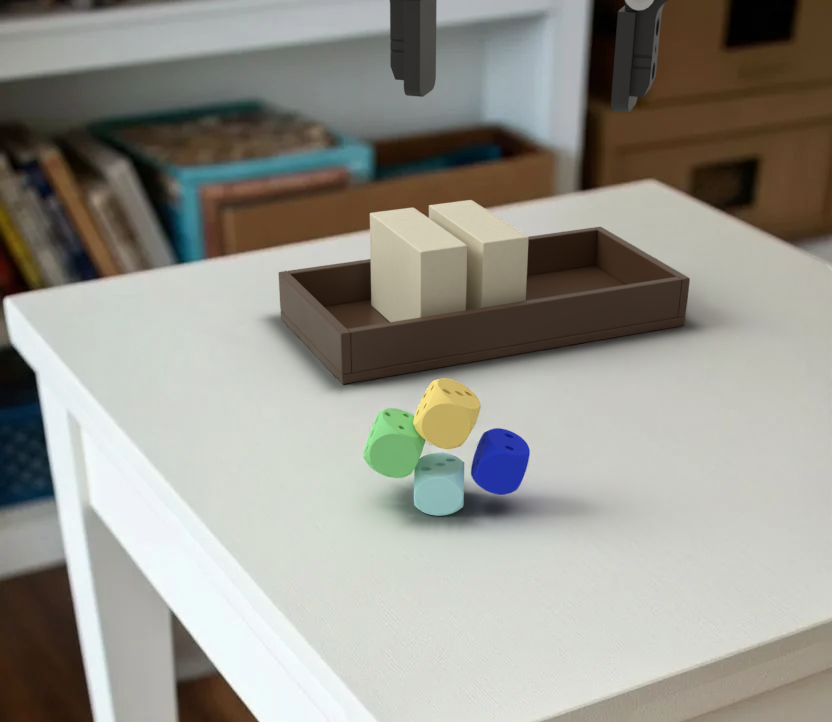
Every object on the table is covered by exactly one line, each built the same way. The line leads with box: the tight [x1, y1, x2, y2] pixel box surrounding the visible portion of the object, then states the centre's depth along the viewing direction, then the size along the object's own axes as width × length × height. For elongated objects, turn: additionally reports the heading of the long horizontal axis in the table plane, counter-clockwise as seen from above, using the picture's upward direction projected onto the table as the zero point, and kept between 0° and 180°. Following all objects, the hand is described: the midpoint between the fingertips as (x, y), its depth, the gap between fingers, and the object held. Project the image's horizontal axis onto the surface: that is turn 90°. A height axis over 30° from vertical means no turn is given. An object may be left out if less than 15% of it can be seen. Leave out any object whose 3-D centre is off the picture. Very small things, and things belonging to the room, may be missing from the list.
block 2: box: [428, 199, 529, 310], centre depth 86 cm, size 3×8×6 cm, turn 23°
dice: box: [362, 377, 531, 517], centre depth 66 cm, size 8×3×6 cm, turn 88°
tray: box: [278, 226, 691, 385], centre depth 87 cm, size 23×11×3 cm, turn 113°
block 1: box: [369, 206, 467, 322], centre depth 85 cm, size 3×8×6 cm, turn 23°
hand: (519, 99), depth 56 cm, fingers open, 8 cm apart
